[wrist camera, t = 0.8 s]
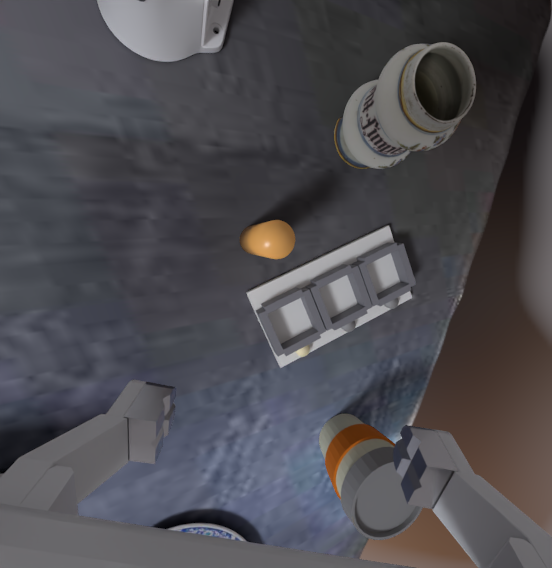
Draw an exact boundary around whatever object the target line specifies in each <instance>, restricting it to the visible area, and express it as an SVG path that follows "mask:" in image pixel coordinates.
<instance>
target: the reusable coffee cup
mask: <svg viewBox="0 0 552 568" xmlns="http://www.w3.org/2000/svg"><path fill="white" fill-rule="evenodd" d="M319 444H320V448H321V450H322V453H323V455H324V458H325V465H326V469H327V472H328V474H329V477H330V479H331V482H332V484H333V487H334V489H335V492H336V494H337V496H338V497H339V498H340V499H341V504H342V507H343V510H344V511H345V513H346V515H347V516H348V518H349V519H350V521H351V522H352V523H353V525H354V526H355V527H356V529H357V530H358V531H359V532H360V533H361V534H362V535H363V536H365V537H367V538H370V539H373V540H384V539H389V538H391V537H394V536H396V535H398V534H400V533H402V532H403V531H404V530H406V529H407V528H408V527H409V526H410V525H411V524H412V523H413V522H414V521H415V519H416V518H417V517H418V516H419V514H420V512H421V510H422V508H423V507H419V506H414V505H409V504H407V502H406V499H405V496H404V493H403V490H402V487H401V482H402V479H403V478H402V477H401V476H400V475H399V474H398V473H397V472H396V469H395V466H394V461H393V449H394V447H395V444H394V443H393V442H392V441H391V440H389V439H388V438H387V437H385V436H384V435H383V434H381V433H380V432H379V431H378V430H376V429H375V428H374V427H372V426H370V425H366V424H364V423H363V422H362V421H360V420H359V419H358V418H357V417H355V416H354V415H351V414H339V415H336V416H334V417H333V418H331V419H330V420H329V421H327V422H326V424H325V425H324V426H323V428H322V430H321V433H320V437H319Z"/></svg>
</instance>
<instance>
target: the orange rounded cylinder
mask: <svg viewBox="0 0 552 568" xmlns="http://www.w3.org/2000/svg"><path fill="white" fill-rule="evenodd" d="M294 244H295V235H294V232H293V230H292V228H291V227H290V226H289V225H288V224H287V223H286V222H284V221H281V220H272V221H268V222H264V223H260V224H257V225H253V226H249V227H247V228H245V229H244V230H243V231H242V233H241V235H240V245H241V247H242V248H243V250H244V251H246V252H247V253H250V254H254V255H258V256H263V257H267V258H272V259H281V258H284V257H286V256H287V255H288V254H289V253H290V252H291V251H292V249H293V247H294Z"/></svg>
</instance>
